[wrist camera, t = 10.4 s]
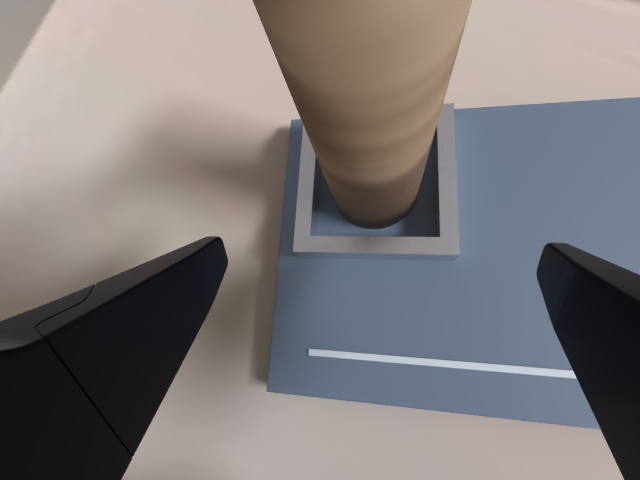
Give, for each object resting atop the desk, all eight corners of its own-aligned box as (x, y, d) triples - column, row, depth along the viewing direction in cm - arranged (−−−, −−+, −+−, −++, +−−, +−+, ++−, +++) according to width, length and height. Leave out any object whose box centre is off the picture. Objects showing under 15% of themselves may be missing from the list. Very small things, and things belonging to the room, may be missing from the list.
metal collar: (452, 260, 16) (459, 255, 14) (300, 257, 17) (292, 251, 16) (448, 121, 17) (453, 103, 16) (310, 129, 19) (304, 113, 17)
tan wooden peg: (433, 205, 16) (552, -60, 5) (355, 243, 17) (296, 78, 5) (392, 138, 18) (410, -196, 6) (320, 175, 18) (210, -80, 6)
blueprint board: (821, 447, 12) (862, 459, 11) (273, 387, 17) (266, 391, 16) (730, 104, 16) (754, 88, 15) (295, 129, 20) (290, 119, 19)
